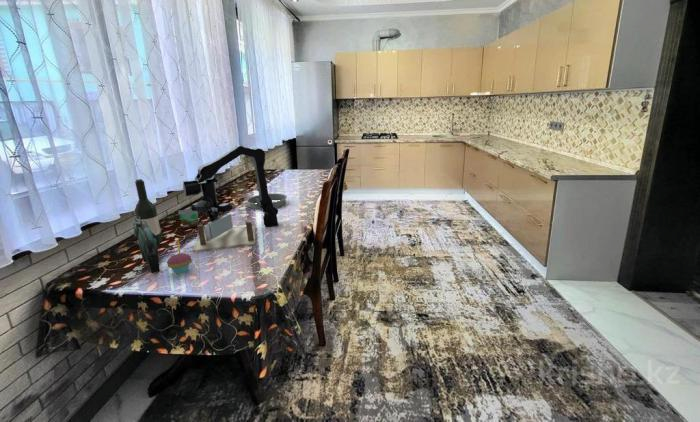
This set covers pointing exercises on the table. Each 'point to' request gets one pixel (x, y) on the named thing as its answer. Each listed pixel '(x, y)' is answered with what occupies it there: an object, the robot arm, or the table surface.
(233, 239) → the base board
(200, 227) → the hinge post
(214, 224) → the gate
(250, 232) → the latch post
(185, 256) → the cupcake
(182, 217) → the food container
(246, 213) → the table surface
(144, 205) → the wine bottle
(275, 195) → the cake pan
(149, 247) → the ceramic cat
